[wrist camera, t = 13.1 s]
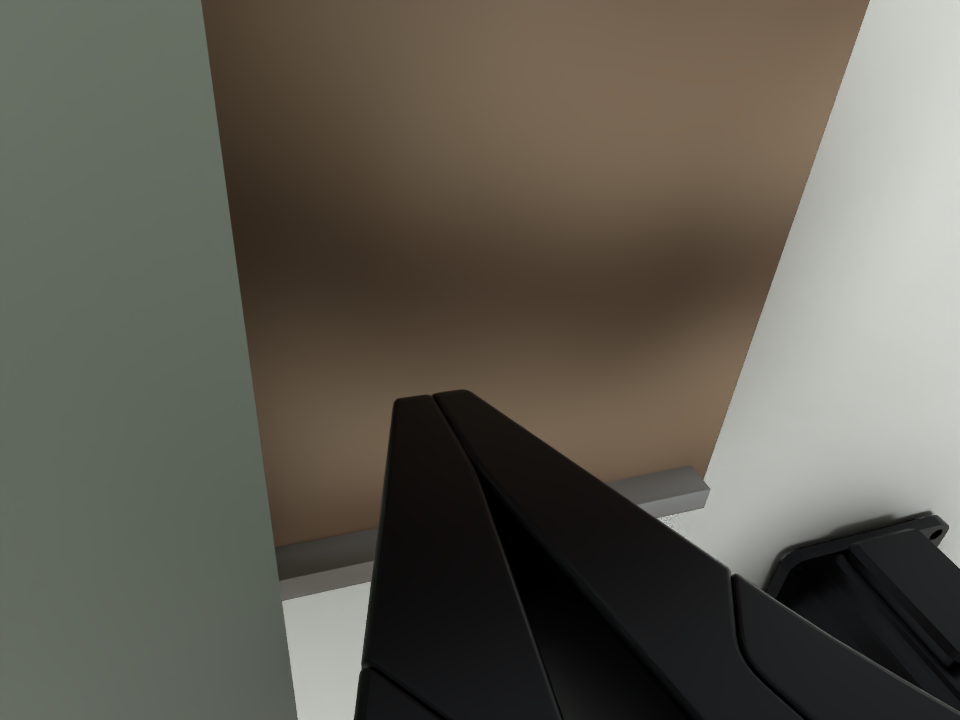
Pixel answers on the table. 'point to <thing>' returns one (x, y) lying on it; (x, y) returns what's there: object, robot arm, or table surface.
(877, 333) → the table surface
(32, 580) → the housing
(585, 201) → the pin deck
